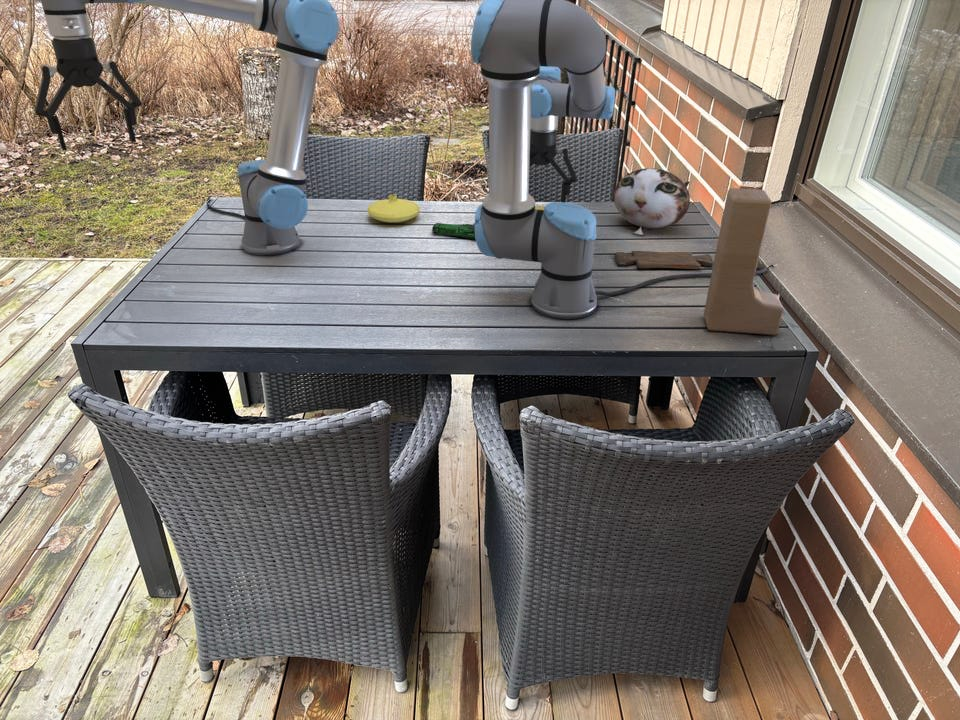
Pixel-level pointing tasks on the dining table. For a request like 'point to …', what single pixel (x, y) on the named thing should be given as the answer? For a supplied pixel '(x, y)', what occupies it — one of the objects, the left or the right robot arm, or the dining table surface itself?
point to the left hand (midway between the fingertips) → (99, 144)
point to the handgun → (455, 230)
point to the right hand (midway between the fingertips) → (538, 207)
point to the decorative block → (741, 269)
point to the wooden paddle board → (663, 259)
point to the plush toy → (651, 198)
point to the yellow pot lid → (393, 210)
